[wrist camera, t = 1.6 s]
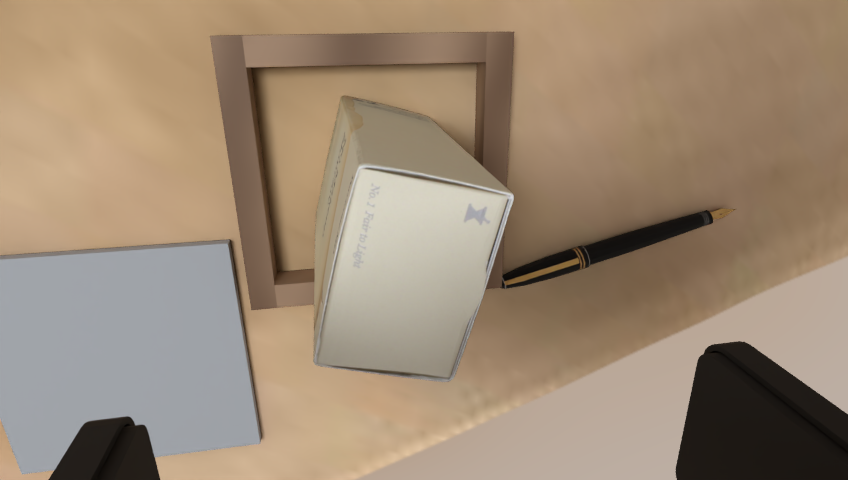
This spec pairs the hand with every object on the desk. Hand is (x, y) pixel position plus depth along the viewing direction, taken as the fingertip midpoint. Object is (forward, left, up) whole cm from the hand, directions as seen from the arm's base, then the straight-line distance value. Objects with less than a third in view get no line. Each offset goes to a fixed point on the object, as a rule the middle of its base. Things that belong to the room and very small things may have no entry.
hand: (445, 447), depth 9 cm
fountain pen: (-13, +5, -18) cm, 23 cm away
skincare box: (0, 0, -18) cm, 18 cm away
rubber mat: (+13, +9, -18) cm, 24 cm away
